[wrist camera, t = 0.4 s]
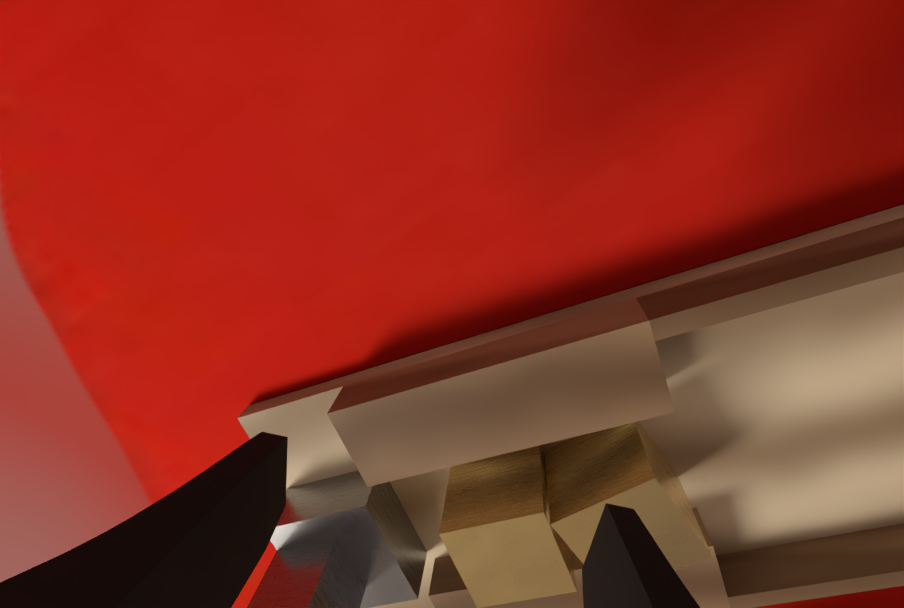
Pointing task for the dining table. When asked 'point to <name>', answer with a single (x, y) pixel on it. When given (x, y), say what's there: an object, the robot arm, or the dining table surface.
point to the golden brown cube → (620, 492)
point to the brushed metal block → (342, 548)
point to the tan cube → (505, 530)
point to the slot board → (667, 414)
